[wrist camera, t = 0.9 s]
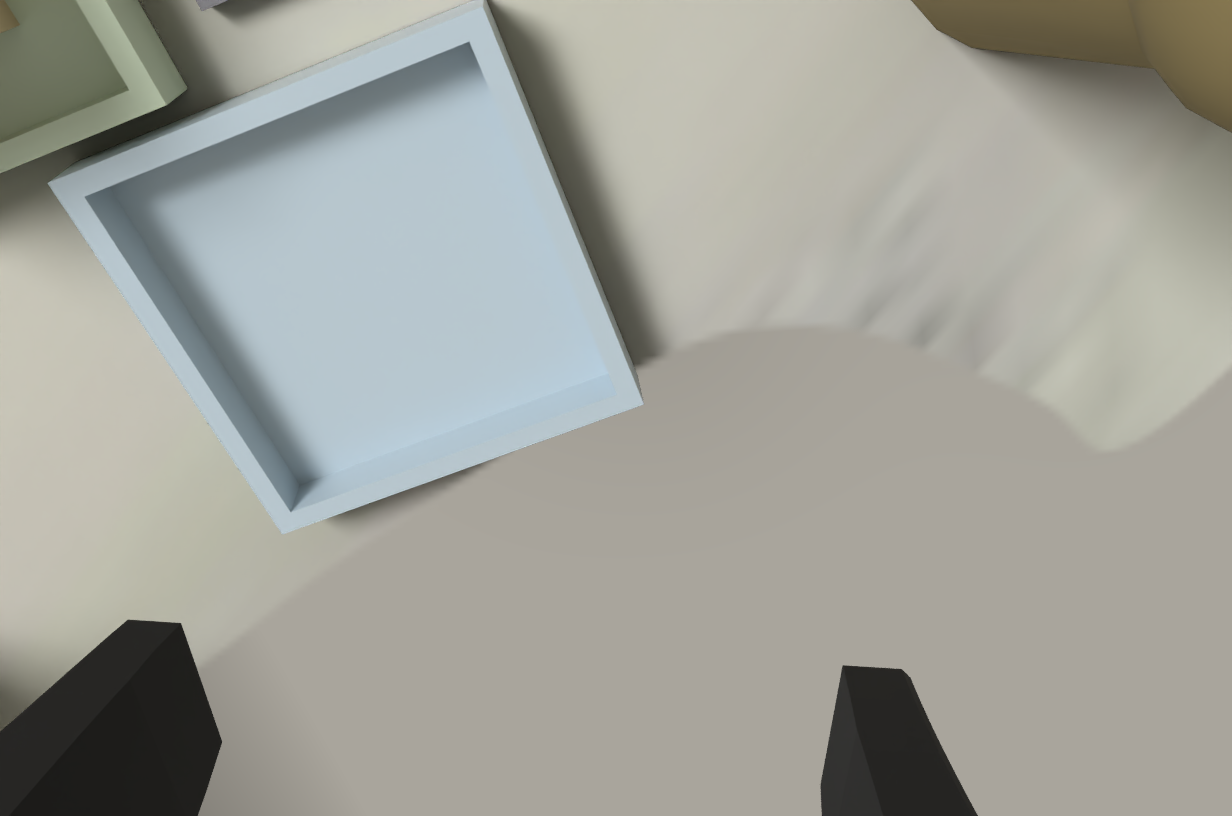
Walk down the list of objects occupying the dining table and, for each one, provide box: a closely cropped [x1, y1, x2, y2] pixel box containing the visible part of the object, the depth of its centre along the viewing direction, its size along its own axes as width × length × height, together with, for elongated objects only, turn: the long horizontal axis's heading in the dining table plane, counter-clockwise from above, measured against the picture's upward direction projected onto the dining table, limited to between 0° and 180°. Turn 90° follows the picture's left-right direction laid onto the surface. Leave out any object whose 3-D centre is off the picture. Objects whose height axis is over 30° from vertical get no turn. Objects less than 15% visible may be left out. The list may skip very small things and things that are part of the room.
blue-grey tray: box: [48, 0, 644, 534], centre depth 23 cm, size 10×10×2 cm
